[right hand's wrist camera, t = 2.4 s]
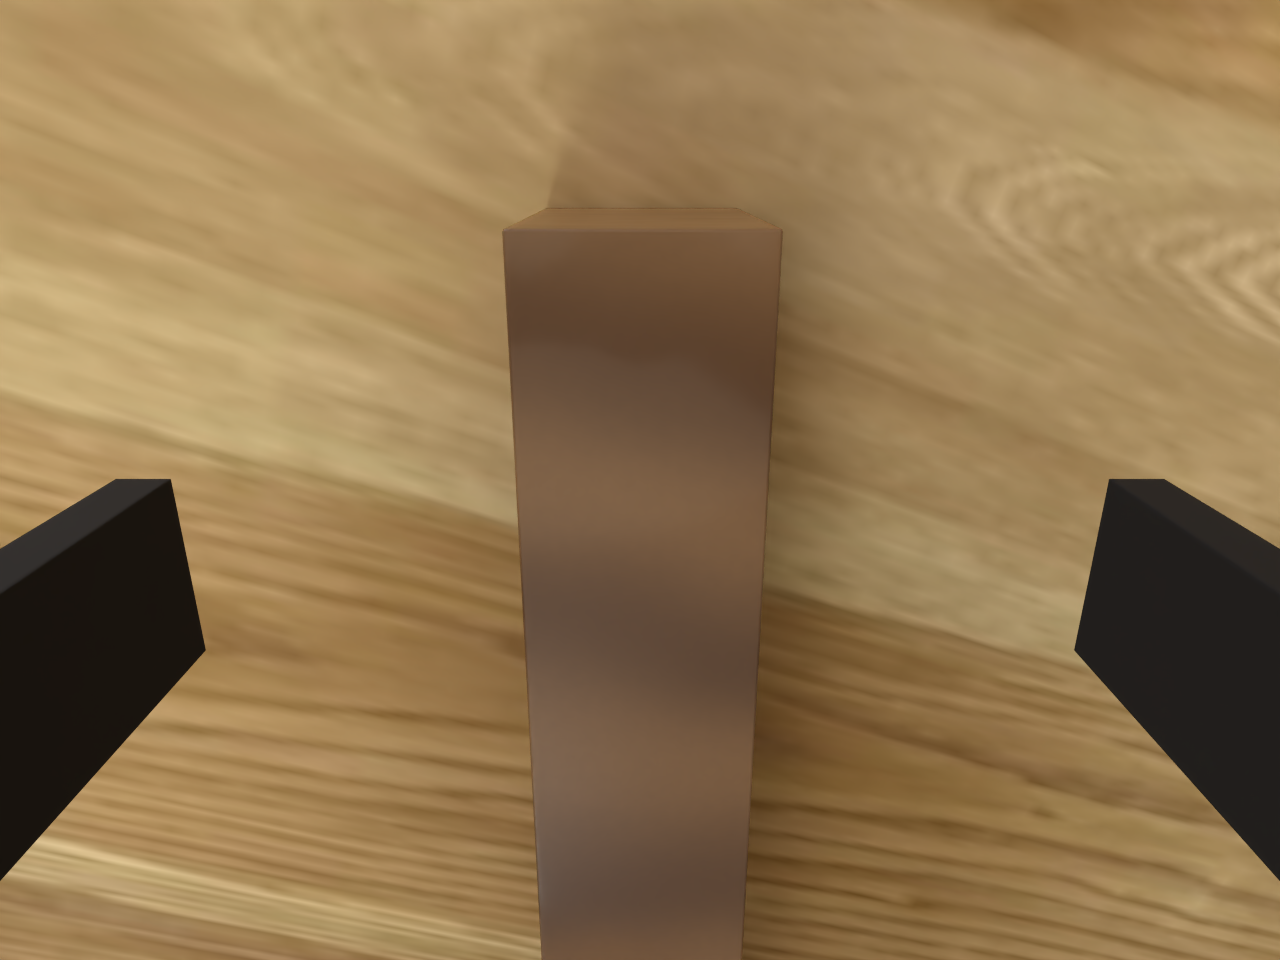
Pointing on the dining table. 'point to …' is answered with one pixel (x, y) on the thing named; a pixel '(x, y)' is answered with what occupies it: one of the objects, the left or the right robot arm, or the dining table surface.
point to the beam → (642, 564)
